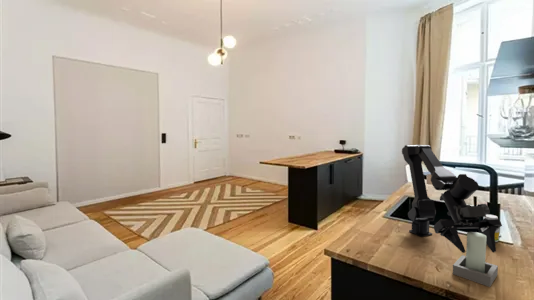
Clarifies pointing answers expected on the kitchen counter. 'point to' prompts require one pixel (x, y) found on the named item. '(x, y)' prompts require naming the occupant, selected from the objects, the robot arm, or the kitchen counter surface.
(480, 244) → the sage peg
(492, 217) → the supplement bottle
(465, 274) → the socket collar
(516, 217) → the kitchen counter surface
